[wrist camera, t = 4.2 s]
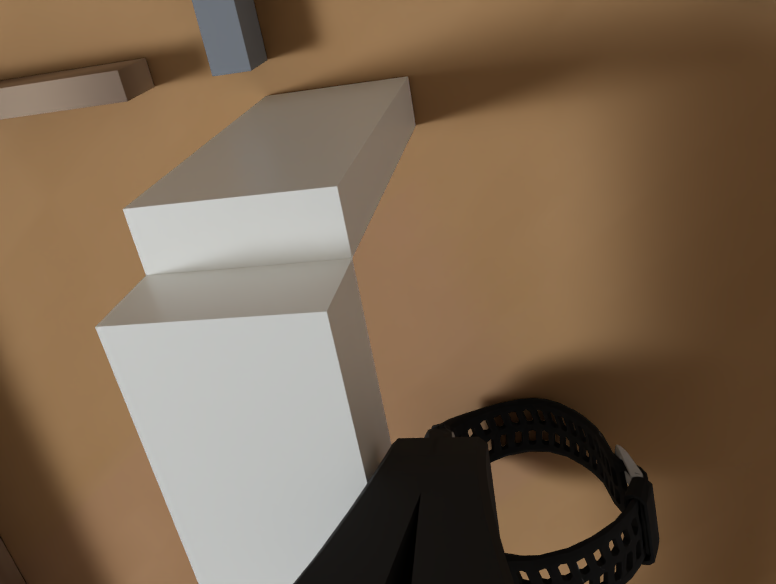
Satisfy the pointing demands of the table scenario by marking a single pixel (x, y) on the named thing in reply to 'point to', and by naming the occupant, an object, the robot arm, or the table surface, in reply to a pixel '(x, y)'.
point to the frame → (230, 35)
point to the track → (58, 94)
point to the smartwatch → (609, 468)
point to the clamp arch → (261, 328)
